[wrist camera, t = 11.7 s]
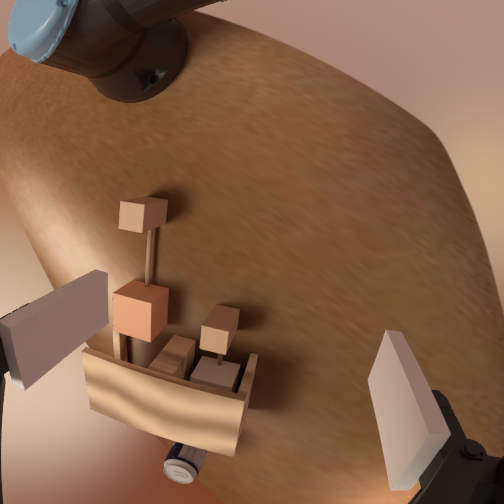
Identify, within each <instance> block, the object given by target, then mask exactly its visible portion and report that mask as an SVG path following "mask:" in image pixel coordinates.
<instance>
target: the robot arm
mask: <svg viewBox="0 0 504 504" xmlns="http://www.w3.org/2000/svg"><path fill="white" fill-rule="evenodd" d="M219 1H222V2H224V1H227V0H16V1H15V3H14V5H13V8H12V11H11V14H10V17H9V22H8V40H9V44H10V46H11V48H12V49H13V51H14V52H16V53H17V54H19V55H22V56H24V57H27V58H30V59H31V60H32V61H34V62H36V63H42V64H45V65H49V66H52V67H56V68H59V69H63V70H66V71H69V72H73V73H76V74H79V75H82V76H85V77H87V78H88V79H89V80H90V81H91V82H92V84H93V85H94V86H95V87H96V88H97V90H98V91H99V92H100V93H102V94H103V95H104V96H106V97H108V98H110V99H113V100H116V101H119V102H123V103H135V102H140V101H143V100H146V99H149V98H151V97H153V96H155V95H156V94H158V93H159V92H161V91H162V90H163V89H164V88H166V87H167V86H168V85H169V84H170V83H171V82H172V80H173V79H174V78H175V77H176V75H177V74H178V72H179V71H180V69H181V67H182V65H183V62H184V60H185V57H186V52H187V37H186V33H185V31H184V29H183V27H182V25H181V24H180V23H179V22H178V21H177V20H176V19H175V17H177V16H180V15H182V14H185V13H187V12H190V11H193V10H195V9H198V8H201V7H204V6H207V5H210V4H213V3H216V2H219ZM108 323H109V320H108V273H106V272H103V271H99V270H94V271H92V272H89V273H87V274H85V275H84V276H82V277H80V278H78V279H76V280H74V281H72V282H70V283H68V284H66V285H64V286H62V287H60V288H58V289H56V290H54V291H52V292H50V293H48V294H46V295H45V296H43V297H41V298H39V299H37V300H35V301H33V302H31V303H28V304H26V305H24V306H22V307H20V308H19V309H16V310H14V311H13V312H12V313H9V314H7V315H5V316H3V317H2V318H0V504H3V496H2V481H1V431H2V430H1V429H2V413H3V401H4V391H5V377H4V374H5V373H6V372H8V371H9V372H10V376H11V379H12V383H14V384H15V385H17V386H18V387H20V388H22V389H23V390H26V389H27V388H29V387H30V386H31V385H32V384H33V383H35V382H36V381H37V380H38V379H40V378H41V377H42V376H43V375H45V374H46V373H47V372H48V371H49V370H51V369H52V368H53V367H54V366H55V365H56V364H58V363H59V362H60V361H62V360H63V359H64V358H65V357H66V356H68V355H69V354H70V353H71V352H72V351H74V350H75V349H76V348H78V347H79V346H80V345H81V344H83V343H84V342H85V341H86V340H88V339H89V338H90V337H91V336H93V335H94V334H95V333H96V332H98V331H99V330H100V329H101V328H103V327H104V326H105V325H106V324H108ZM368 384H369V388H370V392H371V397H372V401H373V405H374V410H375V414H376V419H377V424H378V428H379V433H380V438H381V443H382V448H383V453H384V459H385V464H386V469H387V475H388V481H389V487H390V491H395V490H411V489H412V487H413V486H414V485H415V484H416V482H417V481H418V480H419V482H420V486H421V489H420V490H419V491H418V492H417V494H416V495H415V496H414V497H413V498H412V499H411V501H410V502H409V503H408V504H504V456H503V458H499V457H493V456H487V453H486V451H485V449H484V448H483V446H482V445H481V444H479V443H478V442H476V441H474V440H471V439H467V438H466V436H465V434H464V432H463V430H462V428H461V426H460V424H459V422H458V420H457V418H456V416H455V413H454V411H453V409H451V405H450V404H449V402H448V400H447V398H446V397H445V396H444V395H443V394H442V393H441V392H440V391H439V390H431V389H430V387H429V385H428V383H427V381H426V379H425V377H424V375H423V373H422V371H421V369H420V367H419V365H418V363H417V361H416V359H415V357H414V355H413V353H412V351H411V349H410V347H409V346H408V344H407V342H406V340H405V338H404V336H403V334H402V332H397V331H390V330H386V331H385V334H384V337H383V340H382V343H381V346H380V349H379V351H378V354H377V357H376V360H375V362H374V365H373V368H372V370H371V373H370V376H369V378H368Z"/></svg>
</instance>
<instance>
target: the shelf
mask: <svg viewBox="0 0 504 504" xmlns="http://www.w3.org/2000/svg"><path fill="white" fill-rule="evenodd" d="M113 344H114V357H111V356H108V355H106V354H103V353H100V352H98V351H95V350H92V349H90V348H87V347H86V348H85V349H84V350H82V358H83V366H84V372H85V379H86V385H87V391H88V397H89V402H90V407H91V409H92V410H94V411H96V412H99V413H101V414H103V415H106V416H108V417H110V418H113V419H115V420H118V421H120V422H123V423H125V424H128V425H130V426H133V427H136V428H138V429H141V430H144V431H146V432H149V433H152V434H155V435H158V436H161V437H164V438H167V439H170V440H173V441H176V442H180V443H183V444H186V445H190V446H193V447H197V448H200V449H204V450H208V451H212V452H216V453H220V454H224V455H228V456H232V457H234V454H235V451H236V447H237V444H238V441H239V437H240V434H241V430H242V427H243V423H244V420H245V416H246V413H247V409H248V404H249V399H250V394H251V389H252V384H253V379H254V374H255V369H256V364H257V359H258V354H253V353H251V354H250V357H249V360H248V363H247V367H246V370H245V373H244V376H243V379H242V381H241V384H240V387H239V390H238V393H233V392H229V391H225V390H221V389H216V388H212V387H208V386H205V385H201V384H197V383H193V382H190V376H191V374H192V373H193V370H194V356H195V344H196V340H193V339H189V338H185V337H181V336H177V335H174V336H173V337H172V338H171V339H170V341H169V342H168V343H167V344H166V346H165V347H164V348H163V349H162V350H161V352H160V353H159V354H158V355H157V357H156V358H155V359H154V360H153V362H152V363H151V364H150V365H149V366H148V368H147V369H146V368H143V367H140V366H137V365H134V364H131V363H128V355H127V335H125V334H122V333H119V332H116V331H114V325H113Z"/></svg>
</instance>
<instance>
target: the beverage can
mask: <svg viewBox="0 0 504 504" xmlns="http://www.w3.org/2000/svg"><path fill="white" fill-rule="evenodd" d="M206 453H207V450H204V449H200V448H197V447H193V446H190V445H186V444H183V443H180V442H176V441H175V442H174V444H173V446H172V448H171V450H170V451H169V454H168V456H167V457H166V459H165V461H164V473H165V474H166V475H167V476H168V477H169V478H170V479H172V480H174V481H176V482H179V483H190V482H192V481H193V479H195V478H196V477H197V475H198V473H199V470H200V468H201V465H202V463H203V460H204V458H205V455H206Z"/></svg>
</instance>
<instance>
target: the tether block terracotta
mask: <svg viewBox="0 0 504 504" xmlns="http://www.w3.org/2000/svg"><path fill="white" fill-rule="evenodd" d="M167 206H168V200H167V199H160V198H153V197H141V198H136V199H130V200H124V201H121V203H120V217H119V229H124V230H129V231H134V232H140V233H144V232H146V231H148V238H147V253H146V272H145V282H141V281H137V280H132V281H131V282H129V283H127V284H126V285H124V286H123V287H121V288H120V289H118V290H117V291H115V292H114V293H113V320H114V331H116V332H119V333H122V334H125V335H128V336H131V337H134V338H137V339H141V340H144V341H147V342H151V341H152V340H153V339H154V338H155V337H156V336H157V335H158V334H159V333H160V332H161V330H162V329H163V328H164V327H165V326H166V325H167V315H168V297H169V288H166V287H161V286H157V285H153V284H150V268H151V251H152V238H153V229H154V228H157V227H159V226H162V225H164V224H166V216H167Z"/></svg>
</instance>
